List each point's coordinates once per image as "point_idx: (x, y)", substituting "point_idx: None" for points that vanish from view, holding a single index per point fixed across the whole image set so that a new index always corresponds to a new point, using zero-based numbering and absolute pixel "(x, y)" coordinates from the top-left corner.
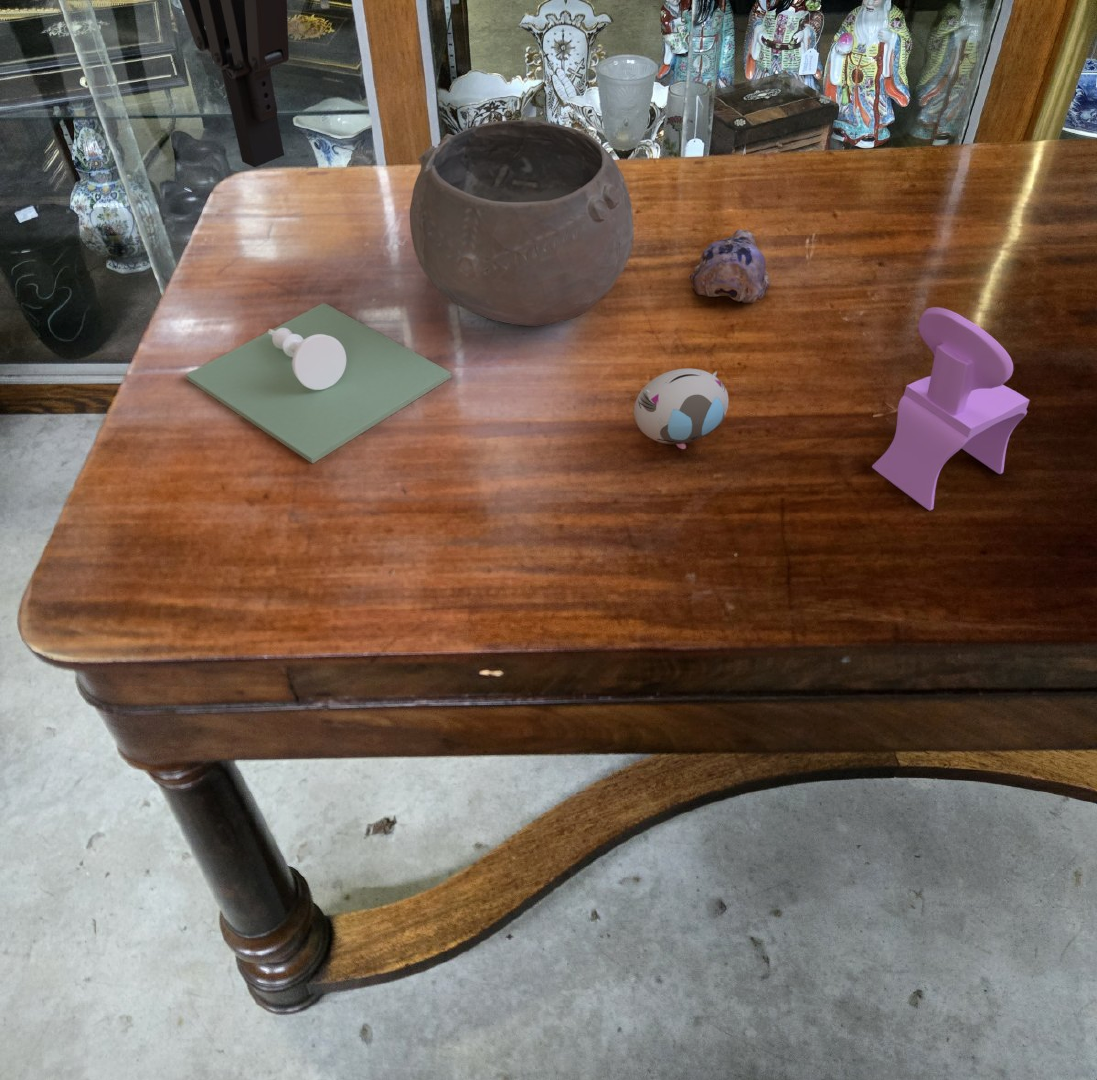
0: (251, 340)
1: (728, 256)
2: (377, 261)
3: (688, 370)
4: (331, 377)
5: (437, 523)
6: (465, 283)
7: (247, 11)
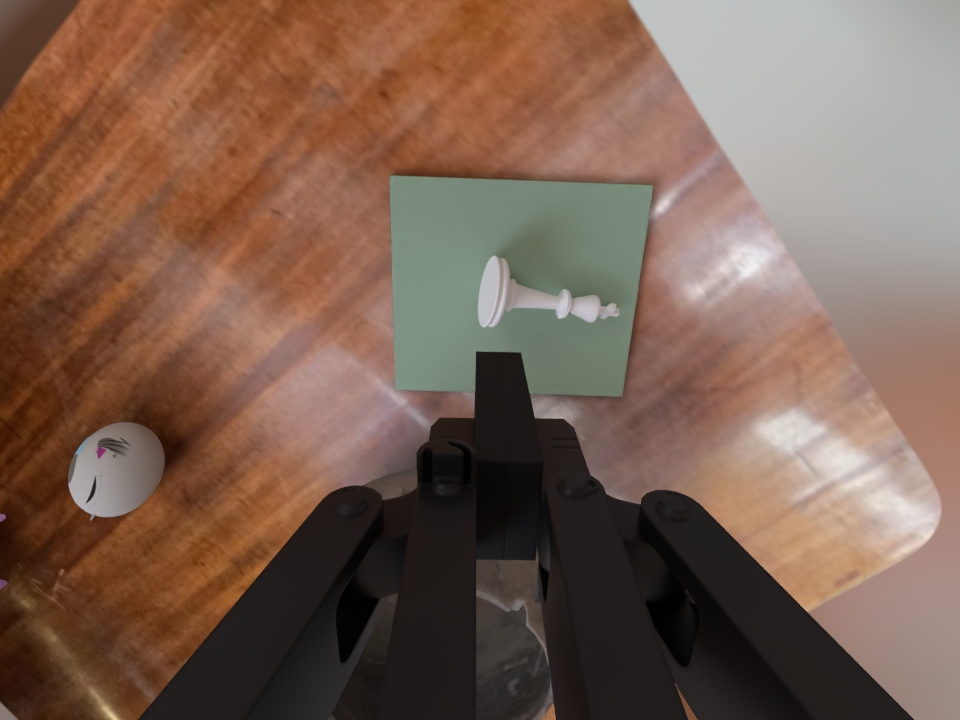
0: (637, 289)
1: None
2: (638, 492)
3: (101, 503)
4: (481, 292)
5: (206, 197)
6: (403, 482)
7: (268, 657)
